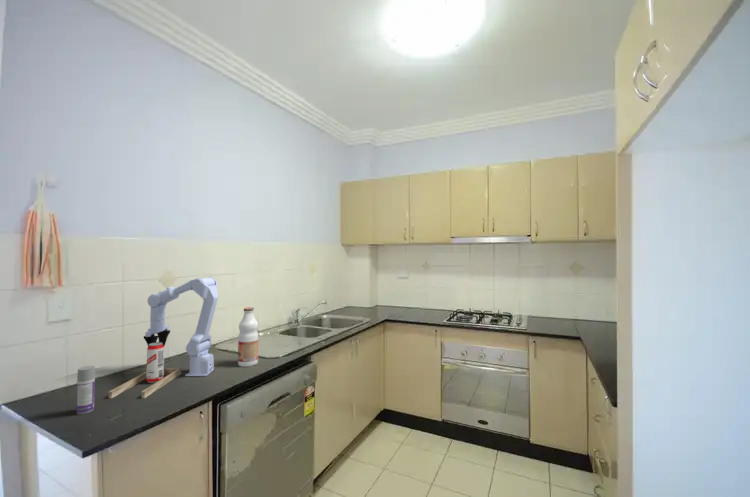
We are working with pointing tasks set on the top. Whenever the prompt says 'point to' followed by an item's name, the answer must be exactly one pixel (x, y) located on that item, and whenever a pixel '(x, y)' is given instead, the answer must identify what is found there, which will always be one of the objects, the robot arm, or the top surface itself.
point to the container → (85, 389)
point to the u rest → (171, 375)
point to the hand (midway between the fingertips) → (157, 348)
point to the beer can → (155, 362)
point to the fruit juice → (248, 339)
